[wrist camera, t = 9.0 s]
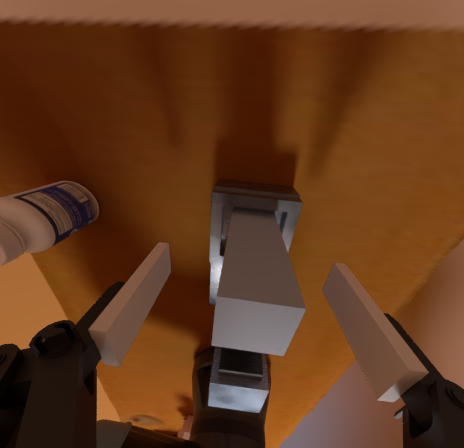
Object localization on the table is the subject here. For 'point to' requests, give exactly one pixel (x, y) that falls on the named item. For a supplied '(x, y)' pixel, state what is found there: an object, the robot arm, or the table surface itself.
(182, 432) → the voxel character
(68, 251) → the table surface
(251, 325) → the long gray rectangular block
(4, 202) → the pill bottle
